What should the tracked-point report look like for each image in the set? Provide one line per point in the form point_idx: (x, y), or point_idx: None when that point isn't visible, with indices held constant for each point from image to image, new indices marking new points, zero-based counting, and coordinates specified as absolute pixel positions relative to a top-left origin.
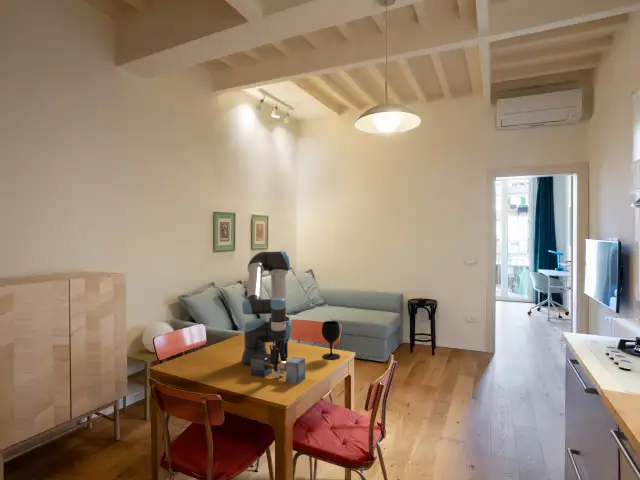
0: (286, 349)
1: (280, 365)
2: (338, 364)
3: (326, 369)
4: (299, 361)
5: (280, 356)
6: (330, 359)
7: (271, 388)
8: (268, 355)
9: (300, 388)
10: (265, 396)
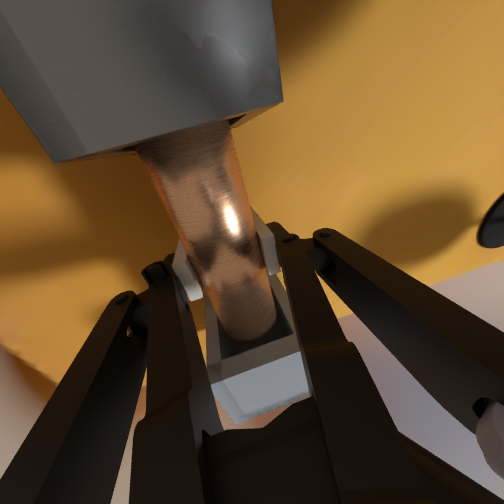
0: (373, 326)
1: (209, 296)
2: (435, 283)
3: None
4: (268, 408)
5: (282, 261)
6: (480, 236)
7: (105, 297)
8: (216, 95)
9: (205, 350)
10: (37, 340)
